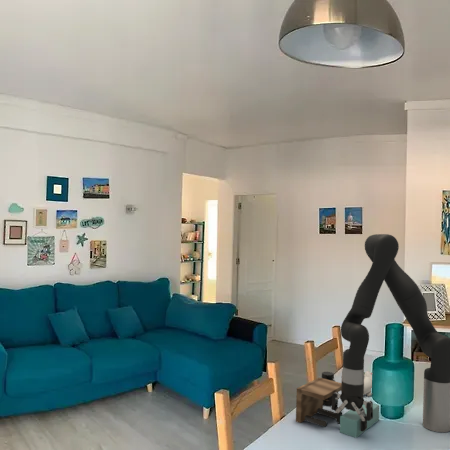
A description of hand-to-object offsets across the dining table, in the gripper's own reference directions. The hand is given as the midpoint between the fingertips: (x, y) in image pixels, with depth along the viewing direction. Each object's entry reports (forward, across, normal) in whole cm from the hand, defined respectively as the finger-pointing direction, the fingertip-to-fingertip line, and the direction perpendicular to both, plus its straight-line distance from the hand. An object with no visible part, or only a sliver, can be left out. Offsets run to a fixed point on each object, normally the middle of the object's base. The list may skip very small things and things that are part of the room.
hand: (351, 427), depth 164 cm
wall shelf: (+2, +13, -3) cm, 14 cm away
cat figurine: (+2, +12, -42) cm, 44 cm away
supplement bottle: (+2, +19, -19) cm, 27 cm away
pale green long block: (+2, 0, -7) cm, 7 cm away
